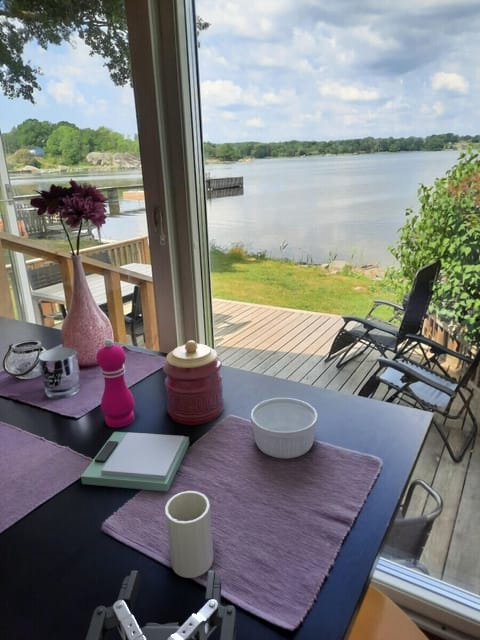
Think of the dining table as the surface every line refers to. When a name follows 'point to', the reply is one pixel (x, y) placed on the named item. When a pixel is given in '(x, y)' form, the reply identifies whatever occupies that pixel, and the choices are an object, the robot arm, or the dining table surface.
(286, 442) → the ramekin
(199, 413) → the kitchen canister
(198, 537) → the cup
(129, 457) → the scale
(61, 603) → the dining table surface
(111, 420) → the pepper mill
